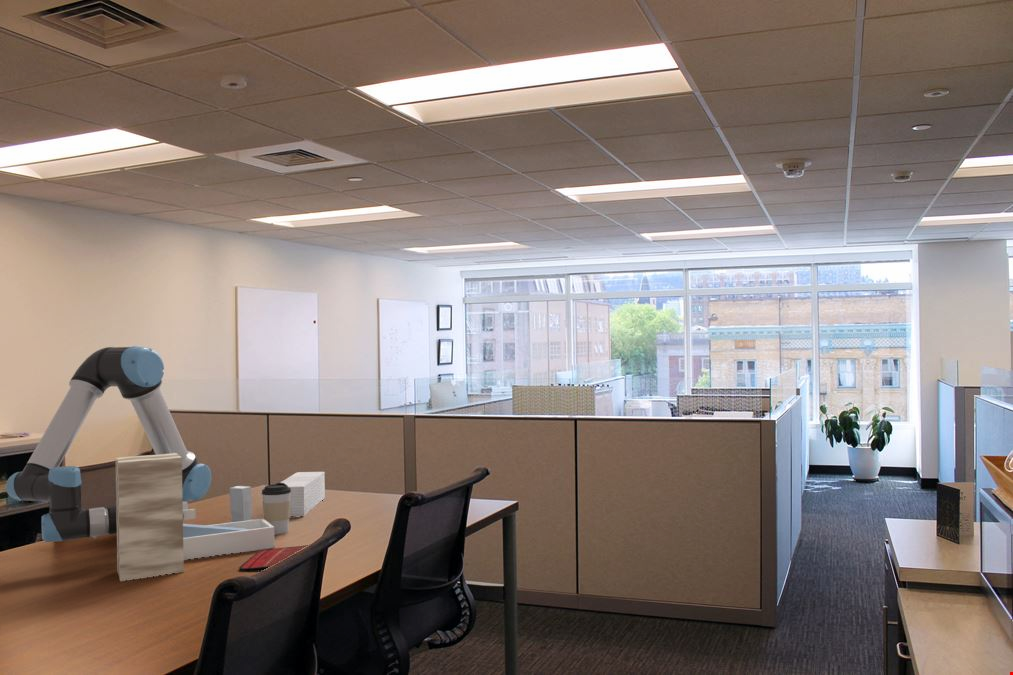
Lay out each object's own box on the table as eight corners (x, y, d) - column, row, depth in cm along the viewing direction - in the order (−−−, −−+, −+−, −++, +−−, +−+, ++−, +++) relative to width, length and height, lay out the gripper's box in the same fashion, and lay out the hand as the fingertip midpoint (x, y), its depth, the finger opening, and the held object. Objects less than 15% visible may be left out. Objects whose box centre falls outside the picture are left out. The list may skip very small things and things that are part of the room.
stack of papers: (297, 500, 308) (296, 472, 308) (325, 499, 308) (324, 471, 308) (273, 518, 276) (272, 487, 276) (304, 517, 276) (303, 486, 276)
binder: (317, 543, 230) (297, 563, 209) (317, 551, 230) (297, 572, 209) (261, 546, 231) (236, 567, 210) (262, 555, 231) (236, 576, 210)
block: (150, 535, 226) (153, 521, 226) (243, 542, 238) (246, 528, 239) (151, 538, 222) (154, 524, 223) (246, 544, 235) (249, 531, 235)
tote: (146, 553, 230) (146, 532, 230) (263, 538, 246) (263, 518, 246) (151, 565, 218) (151, 542, 218) (274, 547, 234) (274, 527, 234)
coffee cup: (283, 535, 249) (282, 487, 249) (256, 534, 251) (255, 486, 251) (296, 529, 258) (296, 482, 258) (270, 528, 259) (270, 481, 260)
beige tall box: (117, 571, 212) (115, 457, 213) (178, 562, 220) (176, 453, 220) (120, 581, 203) (118, 462, 203) (183, 572, 210) (181, 457, 210)
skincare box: (253, 522, 269) (252, 486, 269) (243, 525, 265) (242, 488, 265) (239, 521, 272) (239, 485, 272) (229, 523, 268) (229, 487, 268)
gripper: (103, 526, 229) (184, 515, 241) (111, 543, 209) (199, 531, 220) (102, 500, 229) (183, 490, 241) (110, 514, 209) (198, 503, 220)
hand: (191, 509), depth 231 cm, fingers open, 11 cm apart
